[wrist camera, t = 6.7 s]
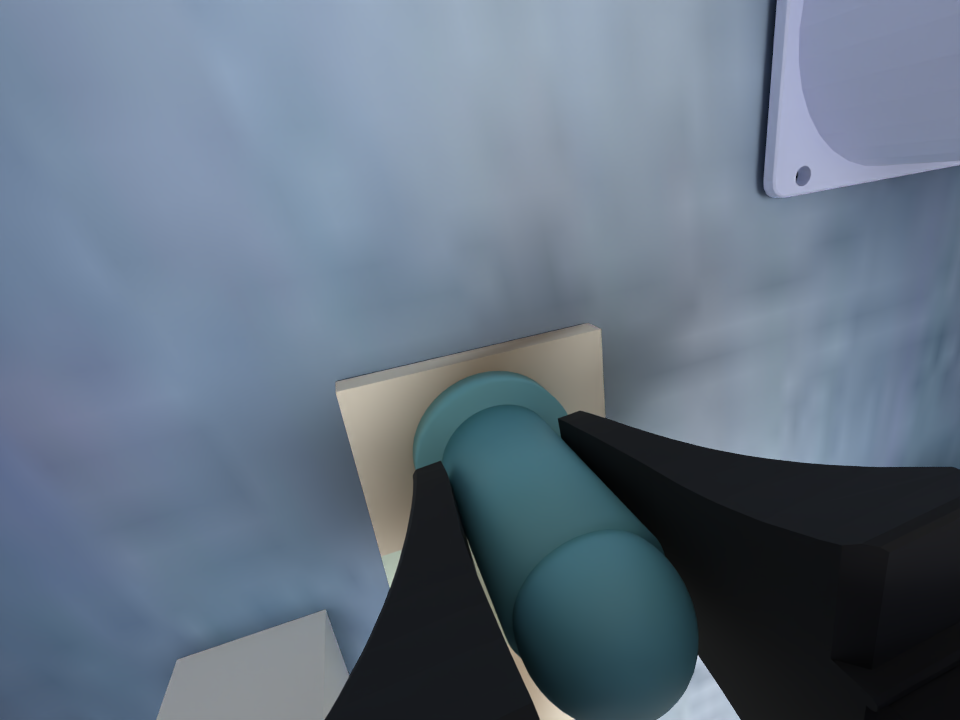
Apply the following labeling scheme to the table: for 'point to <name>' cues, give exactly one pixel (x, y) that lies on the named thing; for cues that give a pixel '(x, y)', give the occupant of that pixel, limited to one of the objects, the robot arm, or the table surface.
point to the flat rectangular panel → (409, 392)
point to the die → (261, 676)
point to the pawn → (560, 554)
